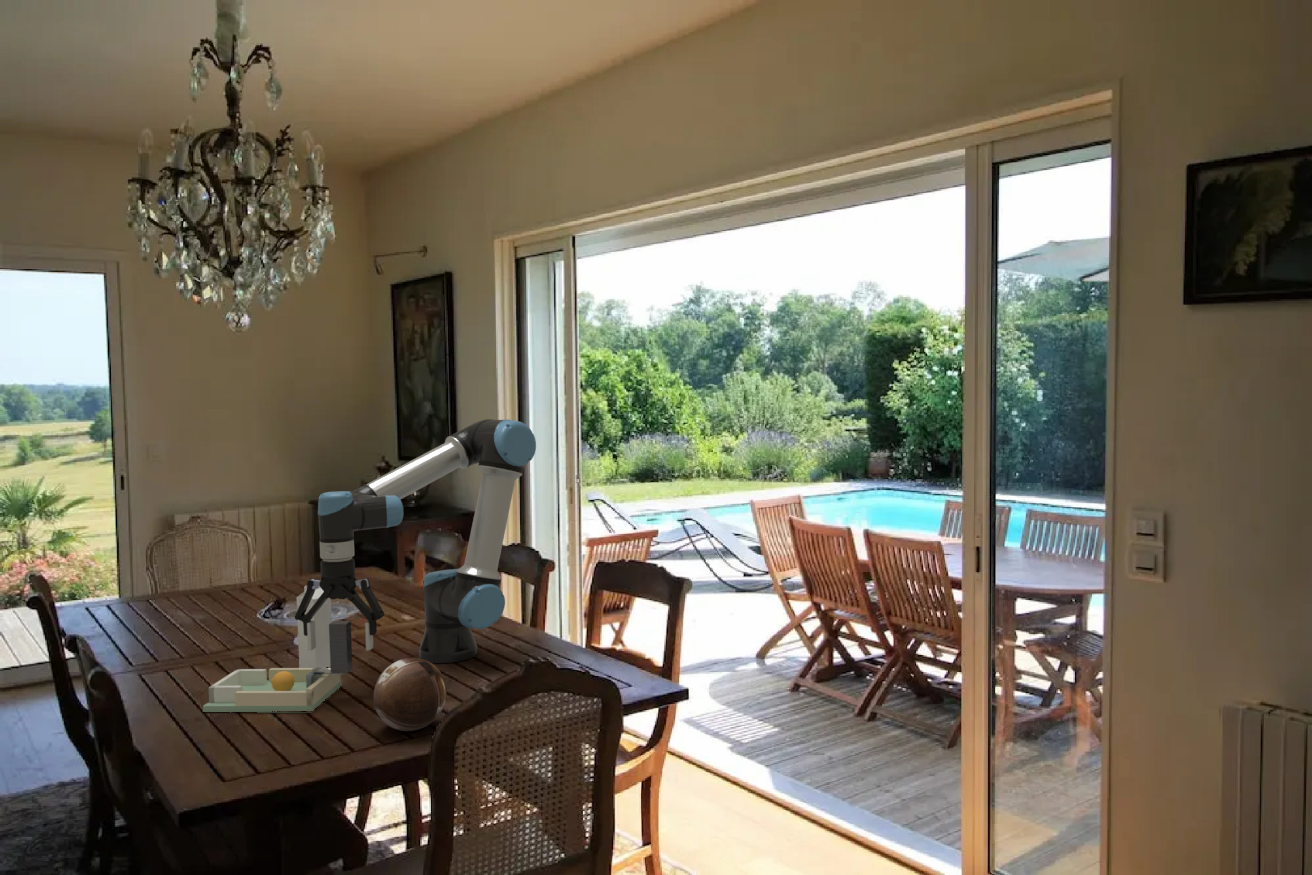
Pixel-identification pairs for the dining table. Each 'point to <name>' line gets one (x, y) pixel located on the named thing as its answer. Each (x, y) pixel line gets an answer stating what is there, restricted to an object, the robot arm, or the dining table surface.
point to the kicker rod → (336, 652)
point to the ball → (283, 681)
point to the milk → (322, 621)
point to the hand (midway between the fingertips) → (340, 649)
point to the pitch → (269, 691)
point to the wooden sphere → (410, 694)
